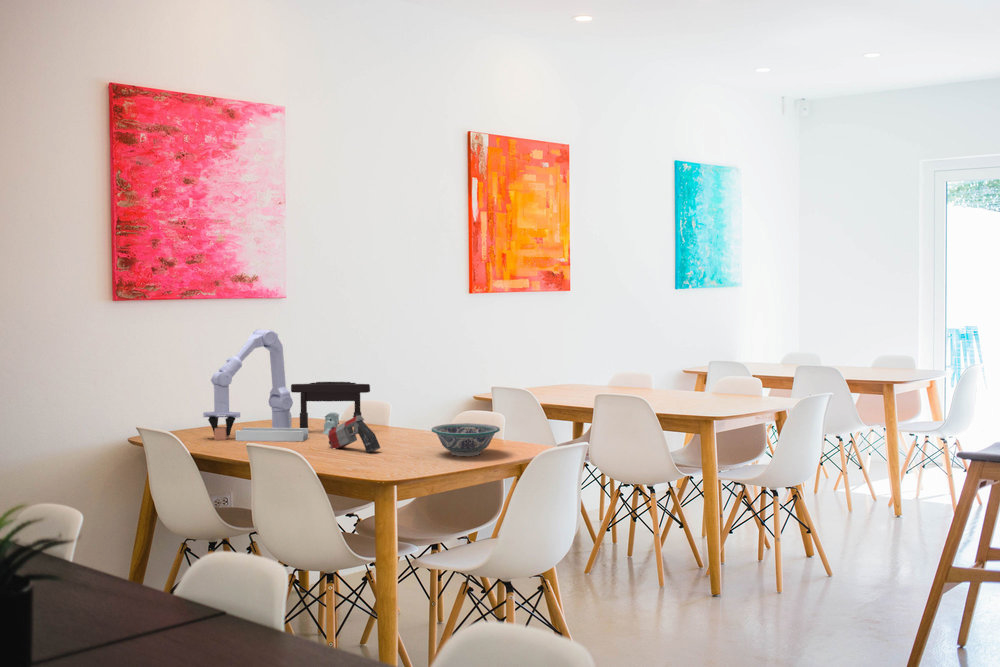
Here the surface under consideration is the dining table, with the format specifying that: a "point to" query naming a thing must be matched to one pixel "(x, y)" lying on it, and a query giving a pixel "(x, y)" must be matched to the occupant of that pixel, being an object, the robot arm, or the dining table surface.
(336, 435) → the toy gun
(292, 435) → the trap channel
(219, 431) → the block
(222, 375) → the robot arm
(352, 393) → the black side table
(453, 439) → the bowl
